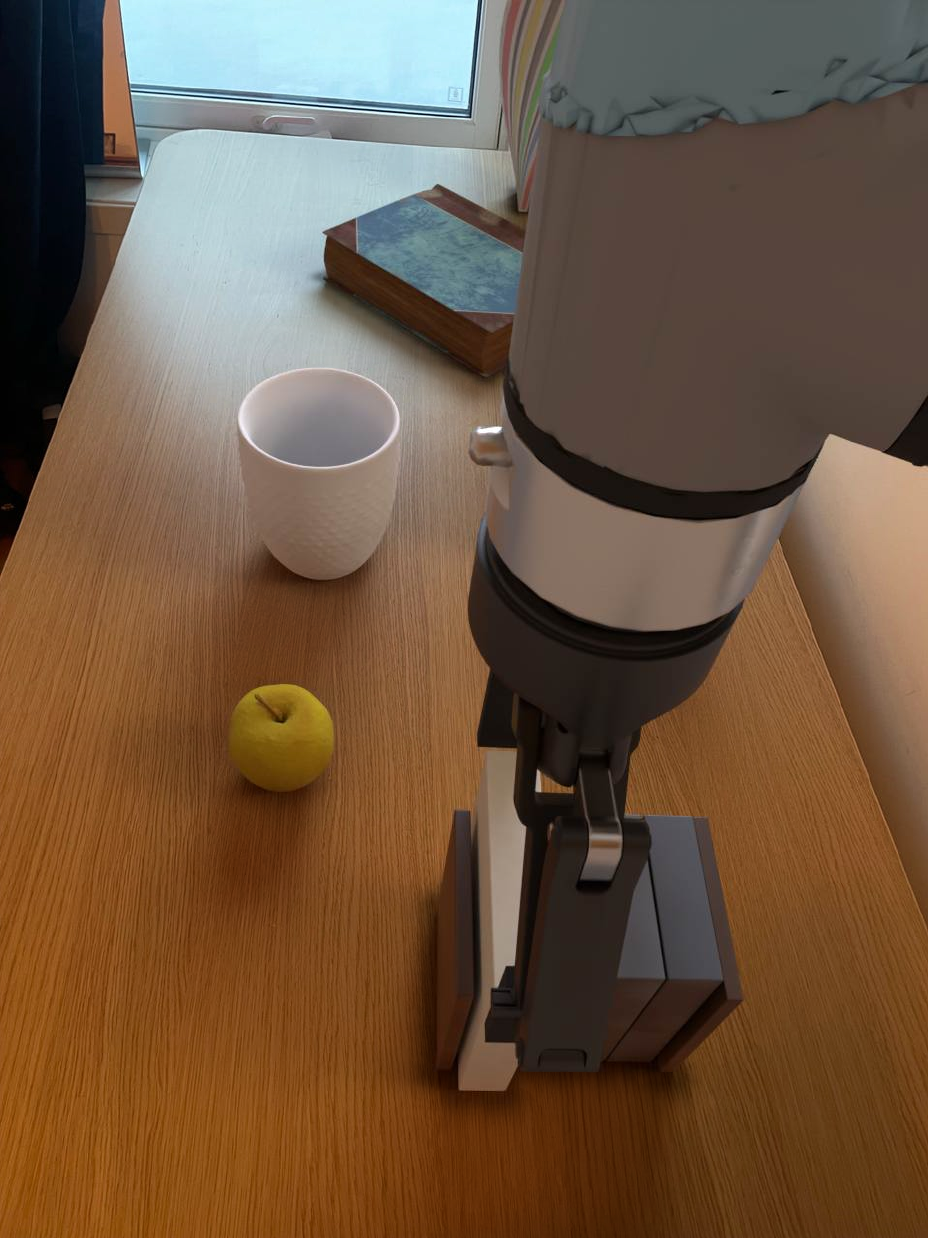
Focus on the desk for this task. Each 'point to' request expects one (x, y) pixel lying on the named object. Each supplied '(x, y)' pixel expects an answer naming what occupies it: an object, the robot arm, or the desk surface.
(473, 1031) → the cream book
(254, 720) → the apple
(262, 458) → the mug
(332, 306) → the desk surface
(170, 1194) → the desk surface
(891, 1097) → the desk surface
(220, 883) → the desk surface
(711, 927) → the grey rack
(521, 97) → the vase
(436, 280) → the book
